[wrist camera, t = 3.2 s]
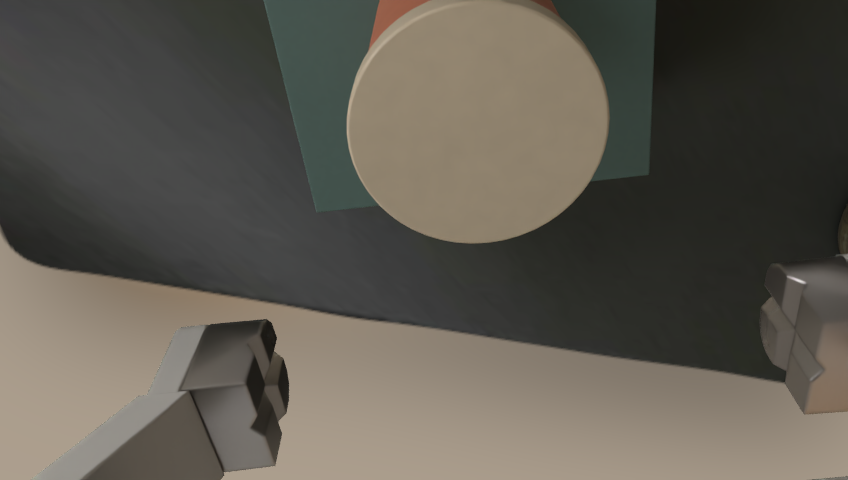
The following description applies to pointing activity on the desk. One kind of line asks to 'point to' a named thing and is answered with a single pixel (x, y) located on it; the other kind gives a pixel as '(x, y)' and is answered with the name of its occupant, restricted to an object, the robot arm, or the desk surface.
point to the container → (843, 232)
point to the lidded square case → (349, 43)
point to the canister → (476, 116)
